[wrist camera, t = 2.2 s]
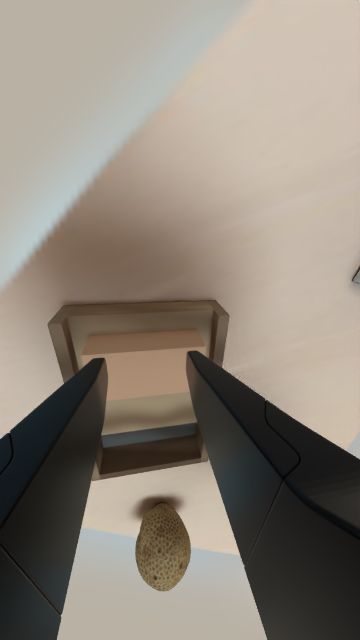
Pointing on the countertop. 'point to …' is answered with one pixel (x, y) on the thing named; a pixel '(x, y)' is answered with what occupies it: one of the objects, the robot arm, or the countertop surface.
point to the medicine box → (357, 277)
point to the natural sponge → (162, 548)
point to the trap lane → (143, 412)
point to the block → (144, 361)
